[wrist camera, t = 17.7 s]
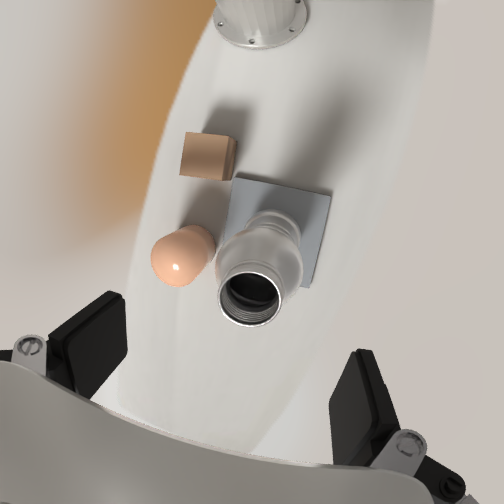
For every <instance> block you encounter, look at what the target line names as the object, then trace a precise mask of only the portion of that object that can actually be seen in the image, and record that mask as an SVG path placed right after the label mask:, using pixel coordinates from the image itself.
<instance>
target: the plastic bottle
mask: <svg viewBox="0 0 504 504" xmlns="http://www.w3.org/2000/svg"><path fill="white" fill-rule="evenodd" d="M300 241H301V232H300V228H299V226H298V224H297V222H296V221H295V219H294V218H293V217H292V216H290V215H289V214H288V213H286V212H284V211H281V210H277V209H266V210H262V211H260V212H258V213H256V214H254V215H253V216H252V217H251V218H250V219H249V220H248V221H247V223H246V225H245V227H244V230H242V231H240V232H238V233H236V234H235V235H233V236H232V237H231V238H229V239H228V240H227V241H226V242H225V243H224V245H223V246H222V247H221V249H220V251H219V253H218V255H217V259H216V264H215V274H216V281H217V284H218V286H219V290H218V304H219V307H220V309H221V311H222V312H223V314H224V315H225V316H226V317H227V318H228V319H229V320H230V321H232V322H234V323H236V324H237V325H241V326H245V327H258V326H262V325H265V324H267V323H269V322H270V321H272V320H273V319H274V318H275V317H276V316H277V314H278V313H279V311H280V309H281V306H282V305H283V304H285V303H286V302H287V301H288V300H289V299H290V298H291V297H292V296H293V295H294V294H295V293H296V291H297V290H298V288H299V287H300V284H301V282H302V279H303V273H304V269H303V261H302V257H301V254H300V252H299V250H298V248H299V245H300Z"/></svg>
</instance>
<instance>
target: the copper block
mask: <svg viewBox="0 0 504 504" xmlns="http://www.w3.org/2000/svg"><path fill="white" fill-rule="evenodd" d="M236 146H237V141H236V140H234V139H233V138H231V137H229V136H224V135H214V134H204V133H192V132H186V135H185V141H184V147H183V153H182V160H181V167H180V174H179V175H183V176H191V177H199V178H206V179H213V180H220V181H226V180H231V176H232V170H233V164H234V158H235V152H236Z"/></svg>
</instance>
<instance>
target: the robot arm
mask: <svg viewBox="0 0 504 504" xmlns="http://www.w3.org/2000/svg"><path fill="white" fill-rule="evenodd" d="M215 1H216V3H217V5H216V7H215V10H214V14H213V19H214V24H215V27H216V29H217V31H218V32H219V34H220V35H221V36H222V37H223V38H224V39H226V40H227V41H228V42H230V43H232V44H234V45H236V46H239V47H243V48H249V49H267V48H273V47H277V46H280V45H283V44H285V43H287V42H289V41H291V40H292V39H293V38H295V37H296V36H297V35H298V34H299V33H300V32H301V31H302V29H303V28H304V26H305V23H306V19H307V10H306V6H305V3H304V1H303V0H215ZM292 31H293V32H292ZM252 43H254V44H252ZM48 337H49V340H47V341H45V340H44V339H43V338H42V337H40V336H37V335H26V336H23V337H21V338H19V339H18V340H17V341H16V342H15V344H14V348H13V350H0V504H479V503H478V502H477V501H476V500H475V499H474V498H473V497H472V496H471V495H470V494H469V495H468V496H466V495H465V490H466V485H465V482H464V480H463V479H462V477H461V476H459V475H458V474H457V473H455V472H453V471H451V470H450V469H448V468H446V467H445V466H443V465H441V464H440V463H438V462H436V461H435V460H433V459H431V458H430V457H428V456H427V455H425V454H426V451H427V443H426V441H425V439H424V438H423V437H422V435H420V434H419V433H417V432H416V431H413V430H409V429H402V430H401V428H400V425H399V422H398V419H397V416H396V413H395V410H394V407H393V404H392V401H391V398H390V395H389V392H388V389H387V387H386V385H385V384H384V381H383V379H382V376H381V373H380V370H379V368H378V365H377V362H376V360H375V357H374V354H373V352H372V351H371V350H366V349H357V350H356V352H352V353H351V355H350V357H349V359H348V362H347V364H346V366H345V369H344V371H343V373H342V375H341V377H340V379H339V381H338V383H337V386H336V388H335V390H334V392H333V394H332V396H331V398H330V401H329V415H330V425H331V437H332V449H333V465H331V464H317V463H307V462H298V461H289V460H281V459H274V458H268V457H262V456H256V455H251V454H246V453H241V452H236V451H232V450H227V449H223V448H219V447H215V446H211V445H207V444H203V443H200V442H196V441H193V440H189V439H186V438H183V437H180V436H176V435H173V434H170V433H167V432H164V431H162V430H159V429H156V428H153V427H150V426H148V425H145V424H142V423H140V422H137V421H135V420H132V419H130V418H128V417H125V416H123V415H121V414H118V413H116V412H114V411H112V410H109V409H107V408H105V407H103V406H101V405H99V404H97V403H95V402H92V401H90V399H91V397H92V396H93V395H94V394H95V393H96V391H97V390H98V389H99V388H100V386H101V385H102V384H103V383H104V382H105V380H106V379H107V378H108V377H109V375H111V373H112V372H113V371H114V370H115V369H116V367H117V366H118V365H119V364H120V363H121V362H122V360H123V359H124V358H125V357H126V355H127V351H128V348H127V333H126V312H125V300H124V299H123V298H122V295H121V294H119V293H116V292H113V291H107V292H105V293H104V294H103V295H101V296H100V297H99V298H97V299H96V300H94V301H93V302H92V303H90V304H89V305H88V306H86V307H85V308H83V309H82V310H81V311H79V312H78V313H76V314H75V315H74V316H72V317H71V318H70V319H69V320H67V321H66V322H65V323H63V324H62V325H60V326H59V327H58V328H57V329H55V330H54V331H53V332H51V333H50V334H49V335H48Z"/></svg>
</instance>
